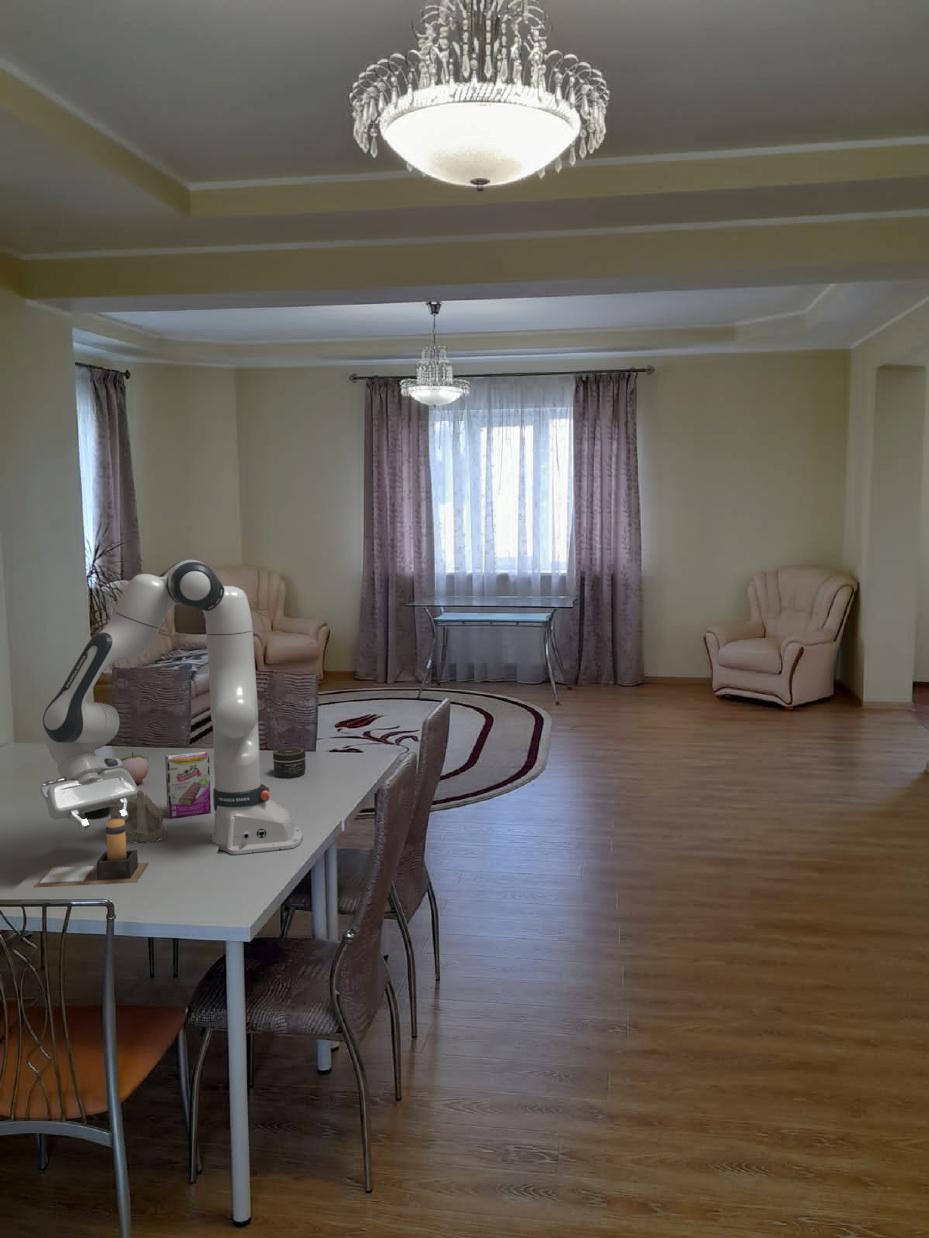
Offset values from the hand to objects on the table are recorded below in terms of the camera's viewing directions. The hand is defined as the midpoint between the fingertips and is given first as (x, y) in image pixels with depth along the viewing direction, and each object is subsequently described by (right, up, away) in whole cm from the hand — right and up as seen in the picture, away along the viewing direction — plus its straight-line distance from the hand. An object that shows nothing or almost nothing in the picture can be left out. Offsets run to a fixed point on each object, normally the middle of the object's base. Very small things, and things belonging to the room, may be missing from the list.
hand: (105, 823), depth 221 cm
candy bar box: (+6, -7, +45) cm, 46 cm away
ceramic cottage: (-2, -9, +30) cm, 32 cm away
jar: (+27, -2, +83) cm, 88 cm away
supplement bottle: (-19, -7, +45) cm, 49 cm away
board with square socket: (-2, -12, -2) cm, 13 cm away
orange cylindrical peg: (+4, -11, -2) cm, 12 cm away
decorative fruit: (-18, -4, +74) cm, 77 cm away
